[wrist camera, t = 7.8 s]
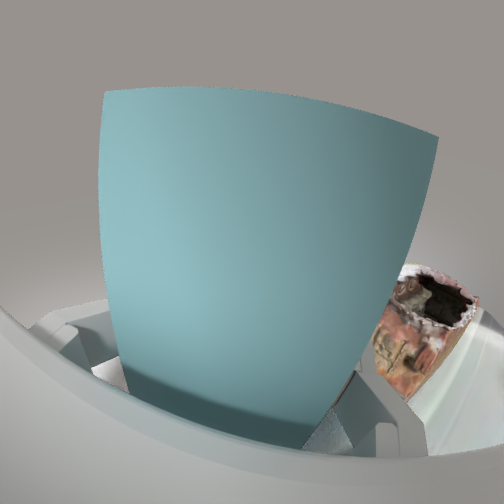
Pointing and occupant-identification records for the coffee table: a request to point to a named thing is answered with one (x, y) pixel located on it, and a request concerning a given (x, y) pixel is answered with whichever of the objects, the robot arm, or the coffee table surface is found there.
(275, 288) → the teal block
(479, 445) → the coffee table surface
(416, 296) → the decorative box
